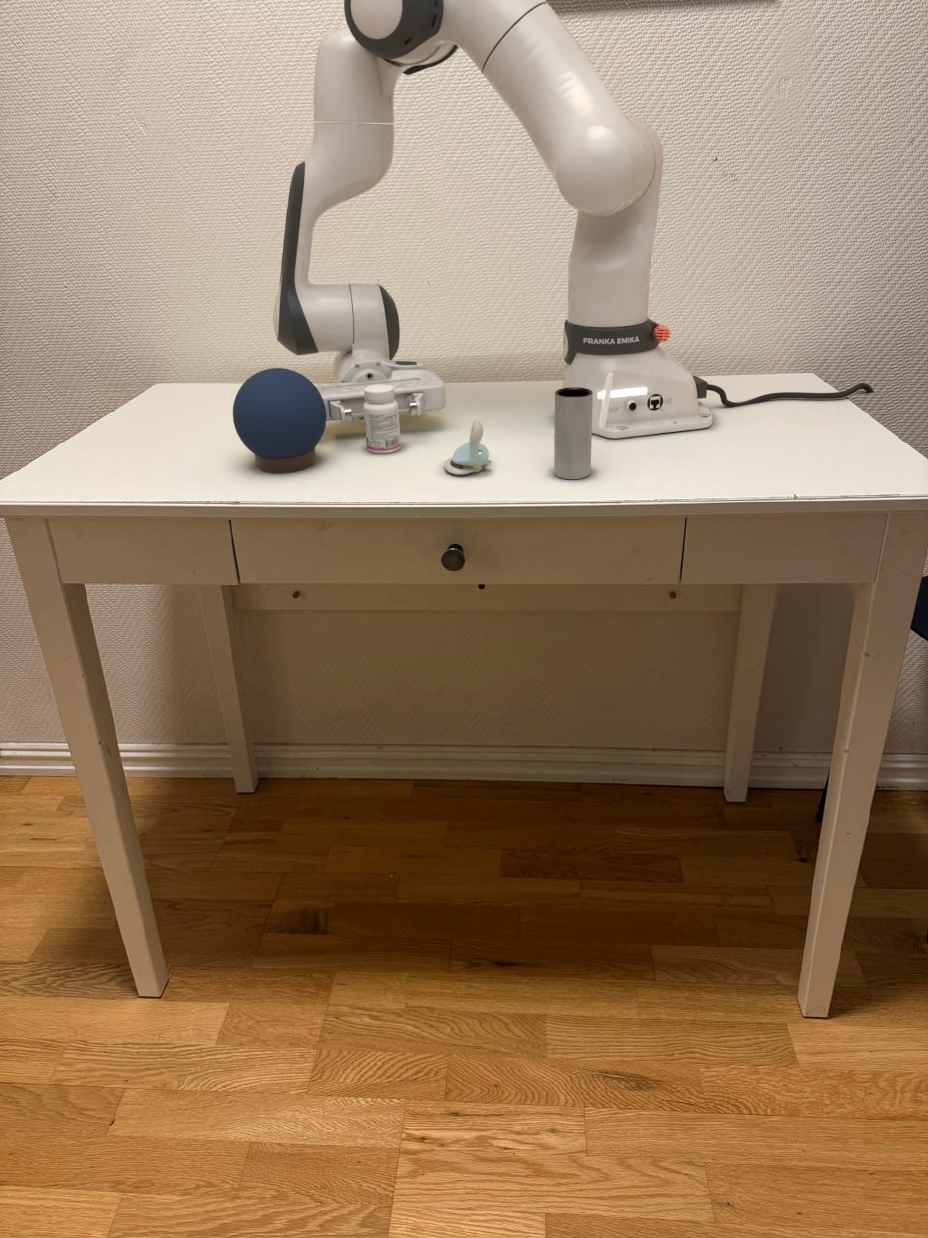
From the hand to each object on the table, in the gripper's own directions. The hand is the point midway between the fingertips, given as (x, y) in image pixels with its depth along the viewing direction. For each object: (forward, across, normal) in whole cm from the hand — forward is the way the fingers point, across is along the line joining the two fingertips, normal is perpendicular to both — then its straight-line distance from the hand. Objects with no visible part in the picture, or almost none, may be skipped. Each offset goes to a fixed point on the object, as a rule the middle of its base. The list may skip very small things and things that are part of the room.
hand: (381, 412), depth 124 cm
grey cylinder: (+18, +21, +5) cm, 28 cm away
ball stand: (+2, -14, +5) cm, 14 cm away
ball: (+2, -14, +5) cm, 14 cm away
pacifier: (+12, +9, +5) cm, 16 cm away
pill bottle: (0, 0, +5) cm, 5 cm away
